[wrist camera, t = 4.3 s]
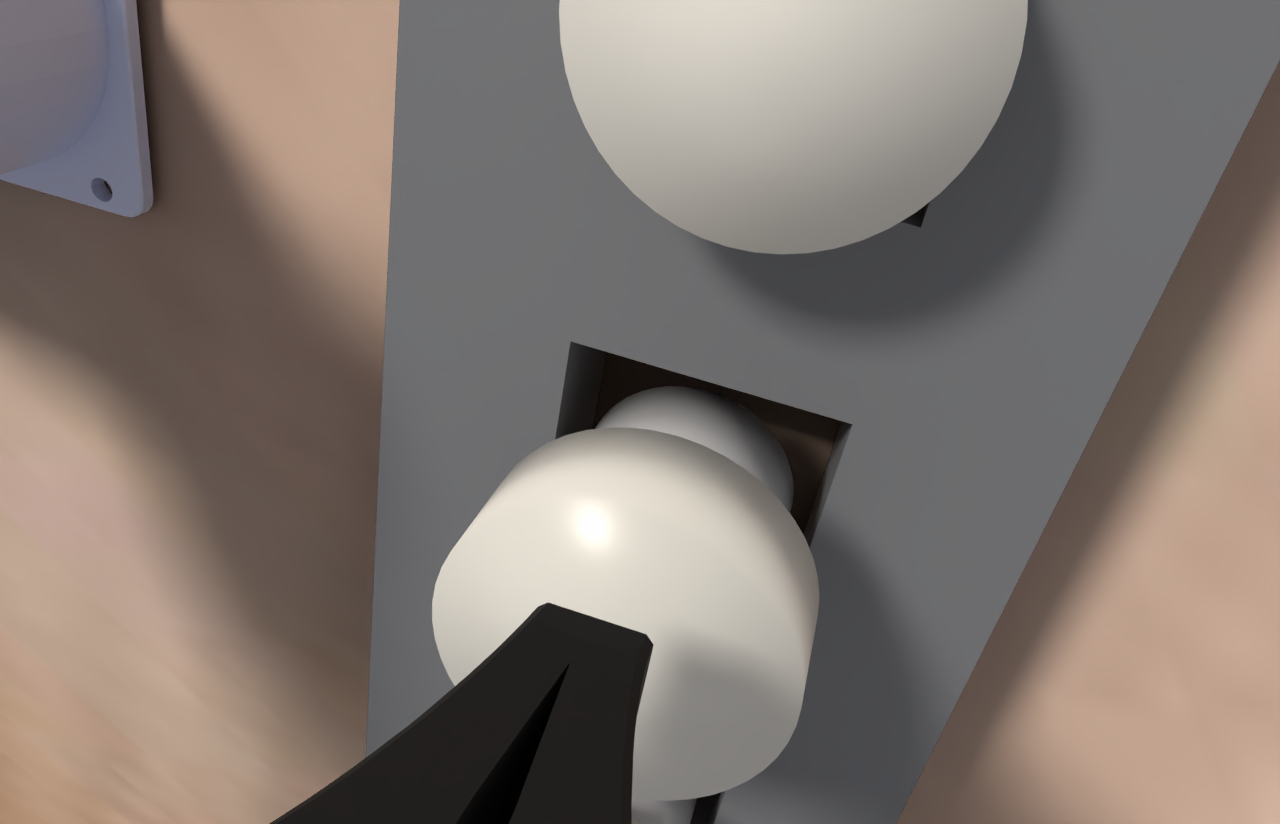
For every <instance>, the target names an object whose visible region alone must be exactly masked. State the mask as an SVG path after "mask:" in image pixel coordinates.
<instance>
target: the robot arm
mask: <svg viewBox="0 0 1280 824" xmlns="http://www.w3.org/2000/svg"><path fill="white" fill-rule="evenodd" d="M0 180H3V181H6V182H10V183H13V184H16V185H20V186H23V187H26V188H30V189H33V190H37V191H40V192H43V193H47V194H50V195H54V196H57V197H60V198H64V199H67V200H70V201H74V202H77V203H81V204H84V205H87V206H91V207H94V208H98V209H101V210H104V211H108V212H111V213H114V214H118V215H121V216H125V217H136V216H138V215H140V214H143V213H145V212H147V211H149V210H150V208H151V207H152V205H153V187H152V176H151V164H150V153H149V141H148V130H147V119H146V107H145V96H144V84H143V73H142V61H141V50H140V39H139V27H138V16H137V4H136V0H0ZM104 180H105V181H106V182H107V183H108V184H109V185H110V187H111V190H112V194H111V193H110V192H109V191H108V189H107V188H106V185H105V182H104ZM653 646H654V645H653V643H652V642H651V640H650V639H649V637H648V636H647V634H644V633H641V632H638V631H635V630H632V629H629V628H626V627H622V626H619V625H616V624H613V623H610V622H607V621H604V620H601V619H598V618H595V617H592V616H589V615H586V614H582V613H579V612H576V611H573V610H570V609H567V608H564V607H561V606H558V605H555V604H552V603H549V602H548V603H545V604H543V605H540V606H538V607H537V608H536V609H535V610H534V611H533V612H532V613H531V615H530V616H529V617H528V618H527V619H526V620H525V621H524V622H523V623H522V624H521V625H520V626H519V627H518V628H517V629H516V630H515V631H514V632H513V633H512V634H511V635H510V636H509V637H508V638H507V639H506V640H505V641H504V642H503V643H502V644H501V645H500V646H499V647H498V648H497V649H496V650H495V651H494V652H493V653H492V654H490V655H489V656H488V657H487V658H486V659H485V660H484V661H483V662H482V663H481V664H480V665H478V666H477V667H476V668H475V669H474V670H473V671H472V672H471V673H470V674H469V675H468V676H466V677H465V678H464V679H463V680H462V681H461V682H459V683H458V684H457V685H456V686H455V687H454V688H452V689H451V690H450V691H449V692H448V693H447V694H445V695H444V696H443V697H442V698H441V699H440V700H438V701H437V702H436V703H435V704H434V705H432V706H431V707H430V708H429V709H428V710H427V711H425V712H424V713H423V714H422V715H421V716H419V717H418V718H417V719H416V720H415V721H413V722H412V723H411V724H410V725H408V726H407V727H406V728H404V729H403V730H402V731H400V732H399V733H398V734H396V735H395V736H394V737H393V738H391V739H390V740H389V741H387V742H386V743H385V744H383V745H382V746H381V747H379V748H378V749H377V750H375V751H374V752H373V753H372V754H370V755H369V756H368V757H366V758H365V759H364V760H362V761H361V762H360V763H358V764H357V765H356V766H354V767H353V768H352V769H350V770H349V771H347V772H346V773H345V774H343V775H342V776H340V777H339V778H338V779H336V780H335V781H333V782H332V783H330V784H329V785H328V786H326V787H325V788H323V789H322V790H320V791H319V792H317V793H316V794H314V795H313V796H311V797H310V798H308V799H307V800H305V801H304V802H302V803H301V804H299V805H298V806H296V807H295V808H293V809H292V810H290V811H289V812H287V813H285V814H284V815H282V816H281V817H279V818H278V819H276V820H275V821H273V822H271V823H270V824H632V777H633V751H634V738H635V728H636V719H637V714H638V710H639V705H640V701H641V697H642V693H643V688H644V684H645V680H646V676H647V671H648V667H649V663H650V659H651V654H652V650H653Z"/></svg>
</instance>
